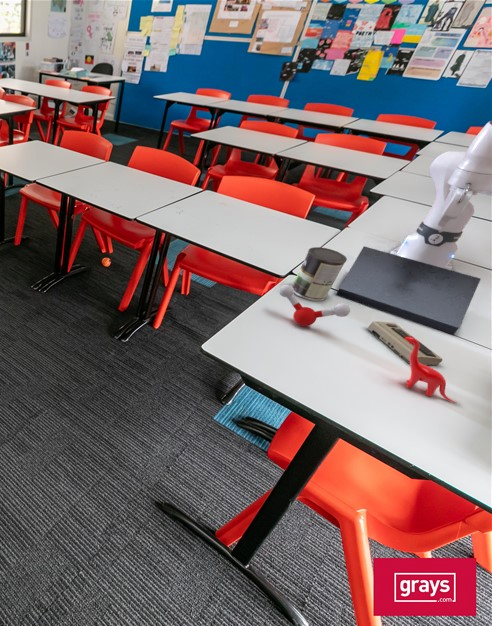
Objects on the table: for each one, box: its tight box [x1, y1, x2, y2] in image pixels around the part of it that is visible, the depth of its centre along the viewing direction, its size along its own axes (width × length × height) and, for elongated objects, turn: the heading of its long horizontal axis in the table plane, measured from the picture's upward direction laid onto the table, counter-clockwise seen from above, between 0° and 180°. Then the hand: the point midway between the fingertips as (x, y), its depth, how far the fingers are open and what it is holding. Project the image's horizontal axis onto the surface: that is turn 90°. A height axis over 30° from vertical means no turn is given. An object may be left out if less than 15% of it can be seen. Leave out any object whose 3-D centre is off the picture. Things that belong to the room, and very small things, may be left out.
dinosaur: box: [405, 336, 457, 404], centre depth 98 cm, size 4×15×12 cm, turn 50°
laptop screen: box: [338, 246, 482, 331], centre depth 131 cm, size 21×30×1 cm
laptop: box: [335, 289, 458, 336], centre depth 135 cm, size 21×30×2 cm
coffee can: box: [291, 246, 348, 302], centre depth 134 cm, size 10×10×14 cm
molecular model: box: [278, 284, 351, 327], centre depth 120 cm, size 18×6×10 cm, turn 46°
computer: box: [367, 320, 444, 366], centre depth 115 cm, size 16×8×3 cm, turn 4°
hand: (441, 224), depth 130 cm, fingers closed
